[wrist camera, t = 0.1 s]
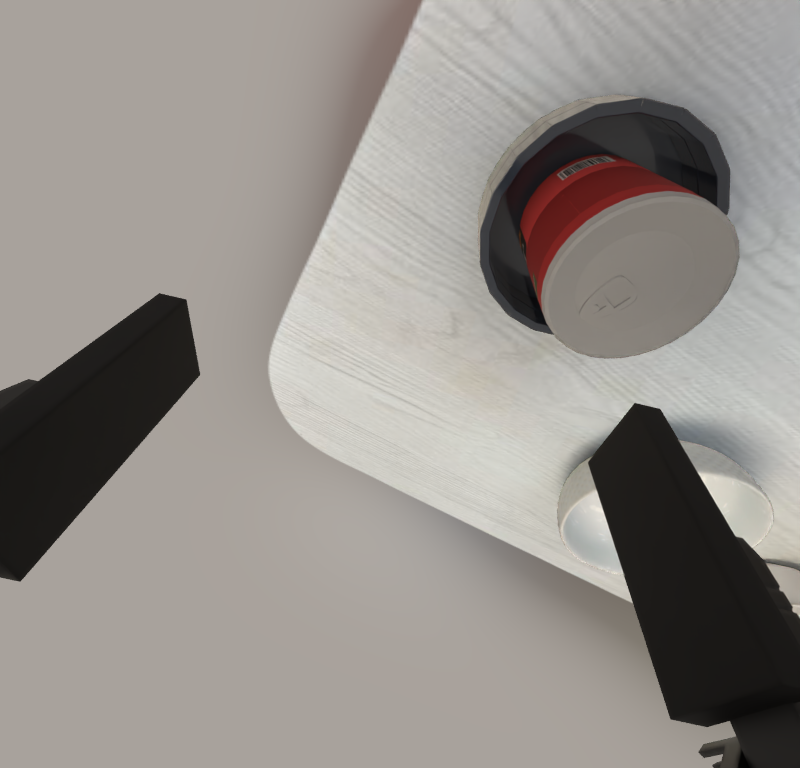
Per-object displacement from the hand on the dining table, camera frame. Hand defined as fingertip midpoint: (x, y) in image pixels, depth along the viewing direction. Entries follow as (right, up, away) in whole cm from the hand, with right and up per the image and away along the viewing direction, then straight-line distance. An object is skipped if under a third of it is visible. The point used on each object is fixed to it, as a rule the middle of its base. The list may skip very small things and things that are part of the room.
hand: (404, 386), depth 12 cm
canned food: (+12, +11, +14) cm, 22 cm away
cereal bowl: (+24, -9, +29) cm, 39 cm away
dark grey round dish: (+12, +11, +14) cm, 22 cm away
